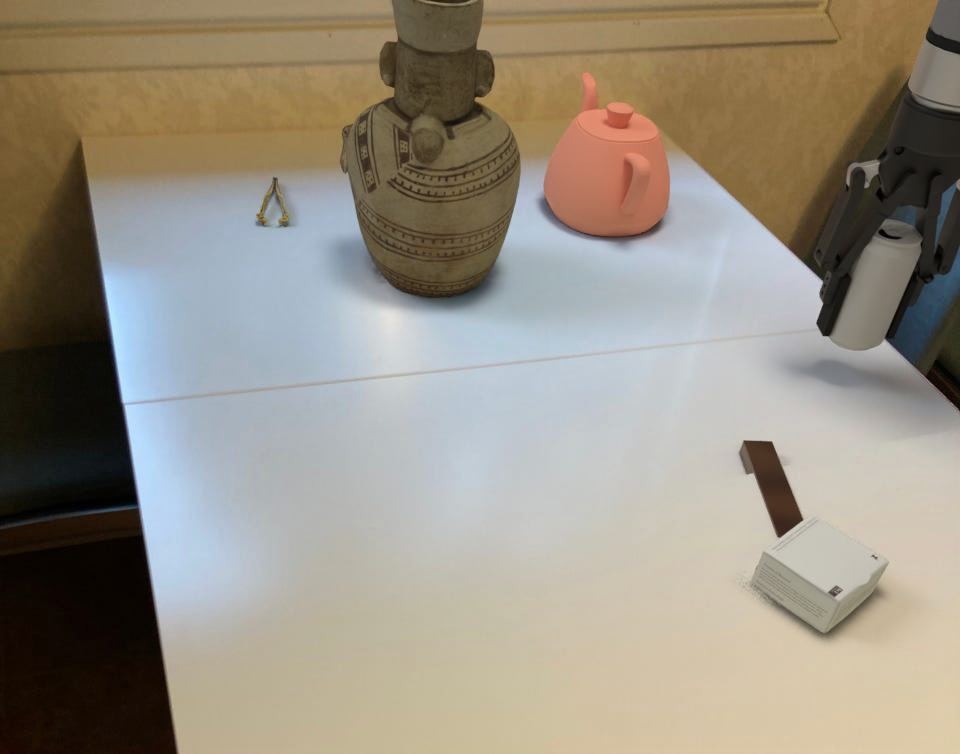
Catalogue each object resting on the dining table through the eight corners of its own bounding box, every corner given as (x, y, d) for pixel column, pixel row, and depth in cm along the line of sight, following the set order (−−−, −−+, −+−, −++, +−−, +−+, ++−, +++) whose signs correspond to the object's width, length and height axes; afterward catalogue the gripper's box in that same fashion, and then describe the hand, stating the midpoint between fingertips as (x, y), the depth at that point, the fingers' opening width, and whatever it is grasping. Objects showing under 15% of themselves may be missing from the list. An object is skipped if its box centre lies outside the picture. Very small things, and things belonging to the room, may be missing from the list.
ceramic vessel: (397, 216, 122) (399, -63, 99) (537, 267, 116) (573, -19, 93) (307, 272, 111) (286, -28, 88) (456, 332, 105) (475, 25, 82)
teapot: (518, 171, 134) (528, 68, 124) (626, 169, 138) (645, 67, 127) (569, 256, 118) (586, 144, 108) (690, 250, 122) (717, 142, 112)
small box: (794, 553, 84) (814, 510, 81) (869, 602, 81) (893, 560, 77) (743, 592, 81) (761, 549, 77) (819, 645, 77) (841, 603, 73)
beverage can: (810, 335, 102) (849, 226, 93) (842, 317, 105) (883, 210, 96) (860, 361, 99) (906, 251, 90) (892, 342, 102) (939, 233, 93)
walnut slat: (804, 548, 85) (810, 536, 84) (773, 547, 85) (778, 535, 84) (767, 452, 94) (772, 440, 93) (739, 451, 94) (743, 439, 93)
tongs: (284, 182, 126) (283, 167, 125) (291, 231, 118) (290, 216, 117) (253, 182, 125) (251, 167, 124) (257, 232, 118) (256, 216, 116)
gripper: (1031, 89, 87) (927, 316, 104) (831, 78, 86) (759, 310, 103) (1068, 119, 82) (952, 352, 99) (856, 108, 81) (776, 346, 98)
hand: (854, 330), depth 101 cm, fingers closed on beverage can, 6 cm apart
